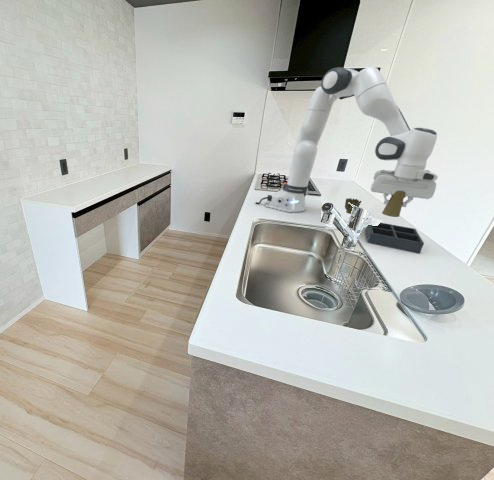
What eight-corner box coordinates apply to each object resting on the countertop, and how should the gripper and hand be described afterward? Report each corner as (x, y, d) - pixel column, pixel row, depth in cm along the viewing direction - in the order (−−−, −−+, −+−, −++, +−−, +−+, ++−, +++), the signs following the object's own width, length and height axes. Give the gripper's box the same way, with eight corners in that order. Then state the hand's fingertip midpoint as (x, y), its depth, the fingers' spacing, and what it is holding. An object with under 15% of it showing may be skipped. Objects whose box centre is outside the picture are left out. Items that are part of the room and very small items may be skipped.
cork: (402, 217, 108) (413, 191, 103) (386, 216, 109) (396, 190, 104) (394, 212, 113) (404, 188, 109) (379, 211, 114) (388, 187, 110)
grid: (367, 242, 115) (371, 233, 113) (365, 229, 129) (368, 220, 127) (419, 253, 107) (424, 243, 105) (411, 237, 121) (415, 228, 119)
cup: (359, 215, 147) (364, 202, 143) (346, 215, 147) (351, 201, 143) (351, 211, 154) (356, 198, 150) (339, 210, 154) (343, 197, 150)
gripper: (377, 170, 106) (365, 202, 112) (443, 177, 96) (426, 212, 102) (375, 168, 111) (364, 199, 117) (438, 174, 101) (423, 207, 107)
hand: (394, 205), depth 109 cm, fingers closed on cork, 4 cm apart
